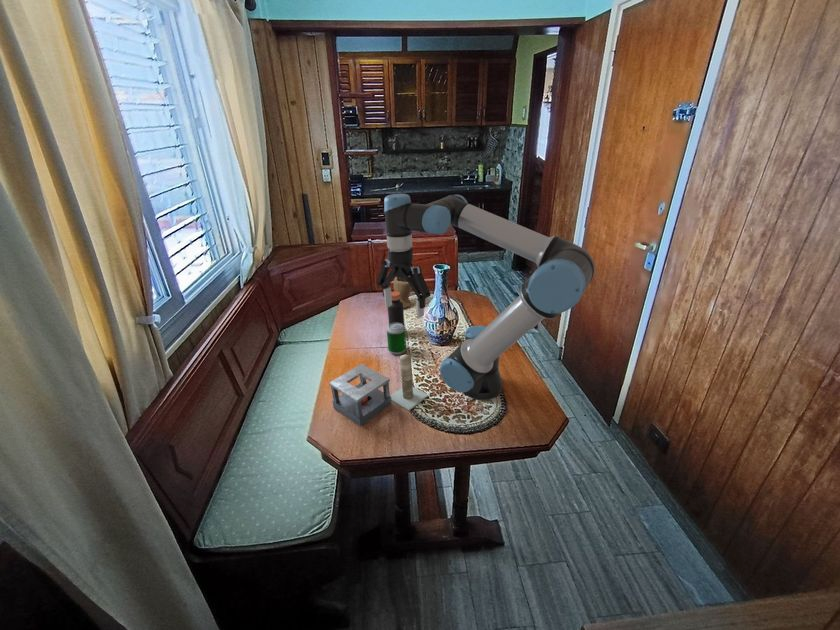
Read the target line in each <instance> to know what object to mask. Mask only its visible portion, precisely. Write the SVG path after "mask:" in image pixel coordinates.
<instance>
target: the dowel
mask: <svg viewBox="0 0 840 630" xmlns="http://www.w3.org/2000/svg"><path fill="white" fill-rule="evenodd" d="M399 356H400V357H399V365H400V375H401V376H400V377H401V388H402V391H403V398H404V399H411V398H413V387H414V386H413V373H412V371H413V370H412V358H411V355H409V354H401V355H399Z"/></svg>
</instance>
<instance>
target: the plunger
mask: <svg viewBox="0 0 840 630" xmlns="http://www.w3.org/2000/svg"><path fill="white" fill-rule="evenodd" d="M367 401H368V396H367V397H365V398H364V399H362V400H361V405H363V404H364V403H366V402H367Z"/></svg>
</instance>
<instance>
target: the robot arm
mask: <svg viewBox="0 0 840 630" xmlns="http://www.w3.org/2000/svg"><path fill="white" fill-rule="evenodd" d="M383 200H384V201H383V202H384V204H383V205H384V209H383V213H384V218H385V220H384V221H385V226H386V228H385V230H386V247H387V248H388V249H387V258H386V259H385V260H384V259H383V260H382V262H381V270H380V273H379V276H378V278H377V282H376V284H377V286H378V287H379V286H380V287H381V289H382V297H383V298H384V307H385V308H386V309H388V307H389V306H391V305H392V296H391V292H392V287H391V286H390V285H391V283H392V282H393V281H394V279H395V277H400V278H402V279H405V280H406V281H407V282H408V283H409V285H410V286H411V288H412V289H411V290H413V292H414V294H415V295H416V297H417V298H416V299H415V307H416V318H417V319H420V318H422V317H423V316H425V308H426V299H427V298H429V297H431V295H432V294H431V292H430V289H429V287H428V285H427V282H426V280H425V277H424V275H423V272H422V267H421V265H418V266H414V265H413V260H414V249H413V235H412V234H413V233H412V232H419V233H426V234H430V235H444V234H445V233H447V231H448V229H449V228H450V226H454V227H456V228H458V229H461V230H463V231H465V232H467V233H469V234H472V235H475V236H476V237H479V238H480V239H483V240H485V241H487V242H489V243H491V244H494V245H496V246H498V247H500V248H503V249H504V250H507V251H509V252H510V253H513V254H515V255H518V256H520V257H522V258H524V259H526V260H529V261H531V262H533V263H535V264H536V266H537V268H536V269H535V270H534V272H533V273H532V275H530V276H529V277H528V278H527V279H526V280H524V282H523V283H522V284H521V286H520V294H519V295H518V296H517V297H516V298H515V299H514V300H513V301H512V302H511V303H510V304H508V305H507V306H506V307H505V309H503V310H502V312H500V313H499V314H498V315H497V316H496V317H495V318H494V319H493V320H492V321H490V323H489V324H488V325H472V326H470V327H468V328H466V330H465V333H464V336H465V337H464V338H465V339H464V341H462V342H461V344H460V345H459V346H458V347H456V348H455V349H454V350H453V352H451V353H450V355H448V356H447V357H446V358H444V360H443V361H442V363H441V364H440V366H439V373H440V377H441V379H442V380H443V382H444V383H445V385H446V386H448V387H449V388H450V389H452V390H453V391H456V392H459V393H463V394H464V395H465V396H467V397H469V398H471V399H474V400H475V399H476V400H483V401H484V400H491V399H494V398H496V397H498V396H499V395H500V394H501V393H502V390H503V380H502V377H501V373H500V370H499V369H500V368H499V363H500V357H501V355H503V354H505V352H506V351H507V350H509V349H510V348H511V347H513V345H514V344H516V343H517V342H518V341H520V339H521V338H523V337H524V336H525V335H526V334H527V333H529V332H530V331H532V329H534V328H535V327H536V326H538V324H539V323H541V322H542V321H543V320H544V319H545V320H546V319H547V320H554V319H555V318H556V317H557V316H559V315H560V314H562V313H564V312H567V311H569V310H570V309H572V308H574V307H575V306H576V305H577V304H578V303H579V301H581V298H582V297H583V295H584V292H585V291H586V290H587V287H588V286H589V285H590V284H591V282H592V281H593V279H594V275H595V270H596V268H595V262H594V260H593V258H592V256H591V254H590V253H589V252H588V251H587V250H586V249H585V248H584V247H583V248H582V247H581V246H579V245H578V244H576V243H573V242H571V241H569V240H566V239H564V238H561V237H559V236H556V235H552V236H550V237H549V236H548V235H547V236H546V235H544V234H541V233H540V232H537V231H535V230H532V229H529V228H527V227H525V226H523V225H520V224H518V223H515V222H513V221H510V220H508V219H506V218H504V217H502V216H498V215H496V214H494V213H491V212H489V211H487V210H484V209H482V208H480V207H478V206H475V205H473V204H470V203H468V201H467V199H466V198H465V197H464V196H463V195H462V194H461V195H460V194H452V195H451V194H449V195H447V196H446V197H442V198H440V199H438V200H435V201H432V202H430V203H429V202H428V203H427V204H426V203H425V204H421V203H413V202H412V200H411V197H410V195H409V194H406V193H392V194H389V195H386V196H385V197H384V199H383ZM389 270H390V272H389Z"/></svg>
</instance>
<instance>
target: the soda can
mask: <svg viewBox="0 0 840 630" xmlns="http://www.w3.org/2000/svg"><path fill="white" fill-rule="evenodd" d="M406 337H407V335H406V327H405V324H404V325H403V324H401V323H391V324H390V325H389V324H388V325H387V327H386V339H387V348H388V352H389V353H391V354H392V355H395V356H401V355H403V353H405V352H406V350H407V338H406Z"/></svg>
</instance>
